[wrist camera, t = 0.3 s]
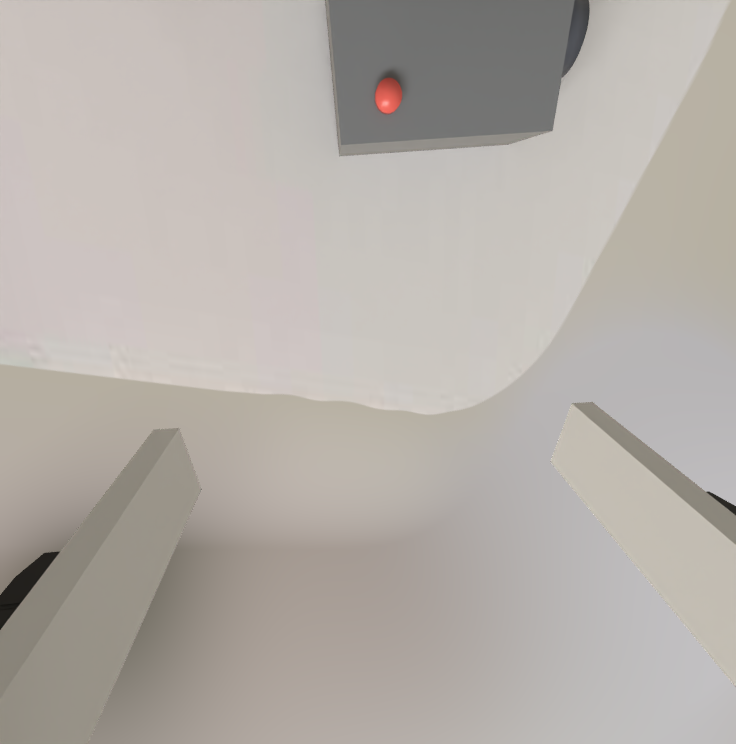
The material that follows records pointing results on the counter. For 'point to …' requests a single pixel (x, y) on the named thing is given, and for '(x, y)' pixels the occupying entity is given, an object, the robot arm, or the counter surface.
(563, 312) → the counter surface
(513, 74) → the camera body
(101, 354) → the counter surface
